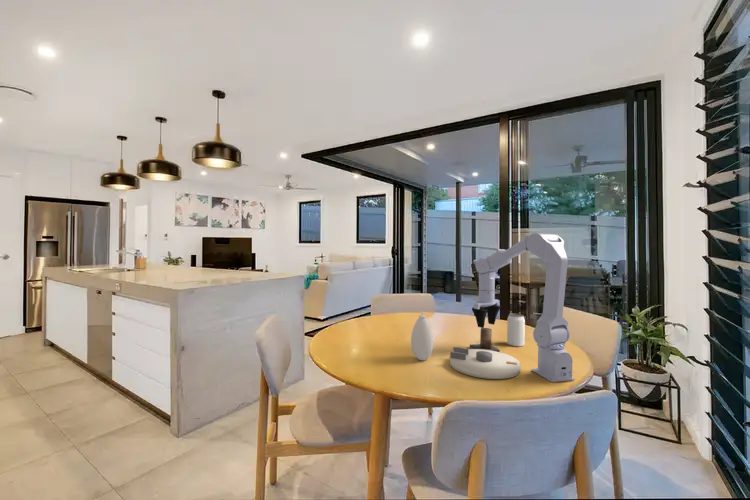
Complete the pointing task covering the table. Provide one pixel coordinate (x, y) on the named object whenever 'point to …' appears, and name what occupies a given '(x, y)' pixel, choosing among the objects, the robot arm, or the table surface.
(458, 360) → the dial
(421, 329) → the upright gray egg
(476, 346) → the mat
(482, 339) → the pin
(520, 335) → the can
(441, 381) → the table surface
